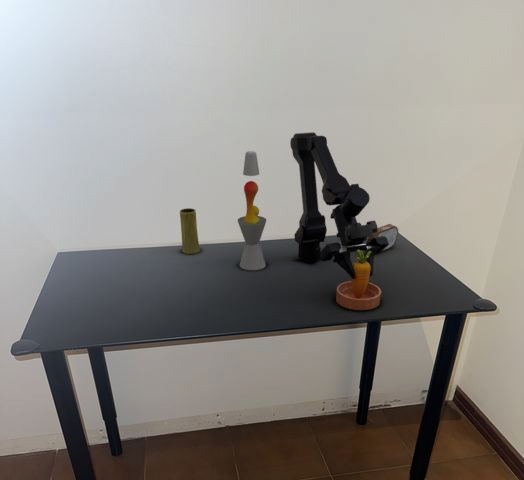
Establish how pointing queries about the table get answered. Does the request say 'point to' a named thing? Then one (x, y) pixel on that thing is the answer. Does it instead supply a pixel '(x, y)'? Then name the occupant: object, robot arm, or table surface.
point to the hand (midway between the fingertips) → (362, 277)
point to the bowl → (349, 301)
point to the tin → (386, 234)
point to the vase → (189, 231)
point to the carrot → (361, 274)
